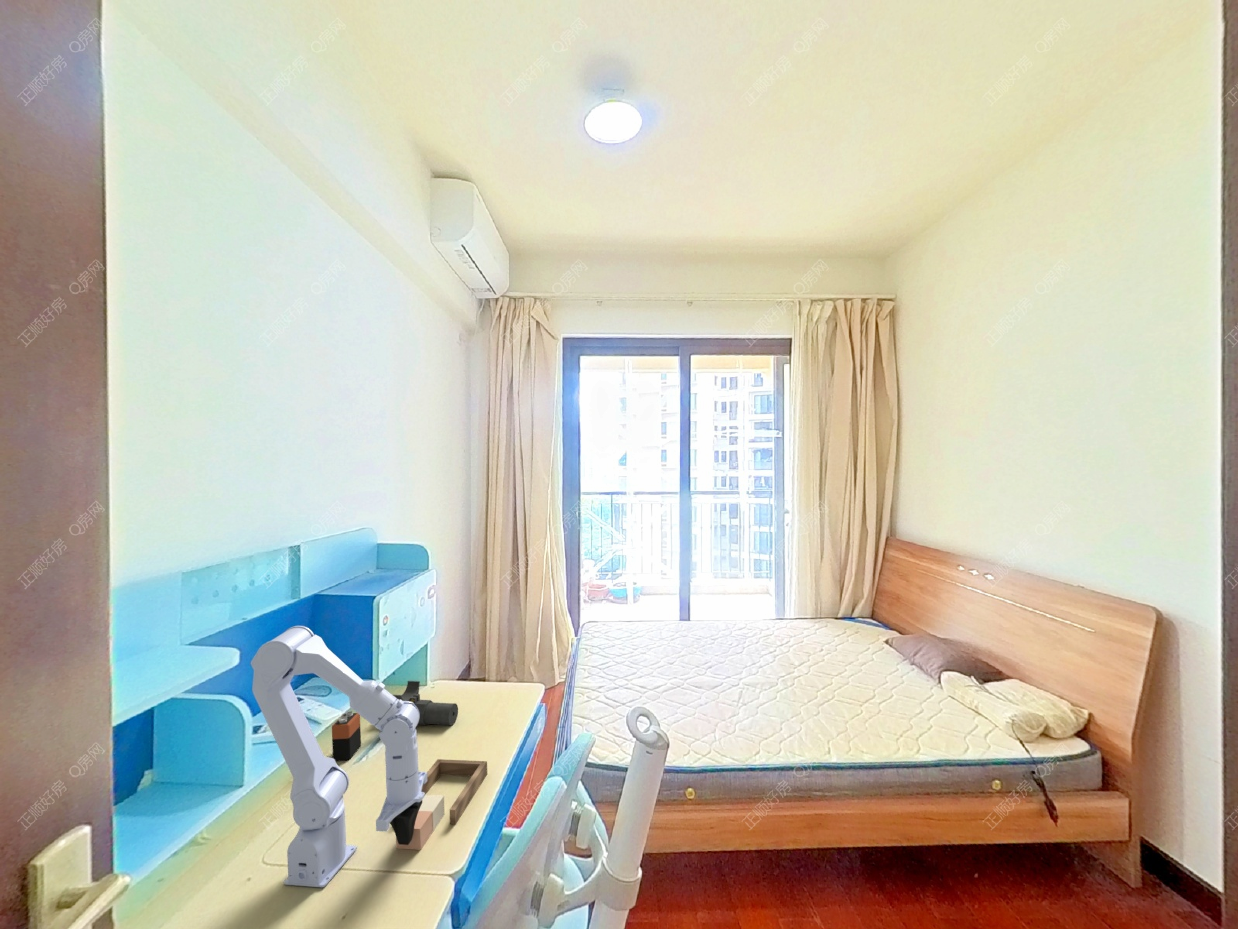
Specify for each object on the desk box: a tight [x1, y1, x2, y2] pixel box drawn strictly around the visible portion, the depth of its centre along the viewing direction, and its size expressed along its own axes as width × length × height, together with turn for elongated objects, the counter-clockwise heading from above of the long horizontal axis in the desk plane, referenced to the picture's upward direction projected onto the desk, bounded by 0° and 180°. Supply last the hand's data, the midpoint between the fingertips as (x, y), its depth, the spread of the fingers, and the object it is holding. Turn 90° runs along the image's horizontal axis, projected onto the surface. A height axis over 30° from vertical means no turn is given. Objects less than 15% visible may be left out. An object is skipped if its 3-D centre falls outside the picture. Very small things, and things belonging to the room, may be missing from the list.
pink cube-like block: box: [395, 811, 434, 851], centre depth 102 cm, size 5×5×4 cm
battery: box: [331, 710, 362, 762], centre depth 134 cm, size 4×7×10 cm, turn 2°
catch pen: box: [421, 759, 488, 825], centre depth 116 cm, size 17×12×3 cm
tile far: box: [419, 794, 446, 832], centre depth 107 cm, size 5×5×4 cm
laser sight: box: [392, 680, 459, 726], centre depth 150 cm, size 10×22×10 cm, turn 80°
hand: (405, 842), depth 99 cm, fingers closed
